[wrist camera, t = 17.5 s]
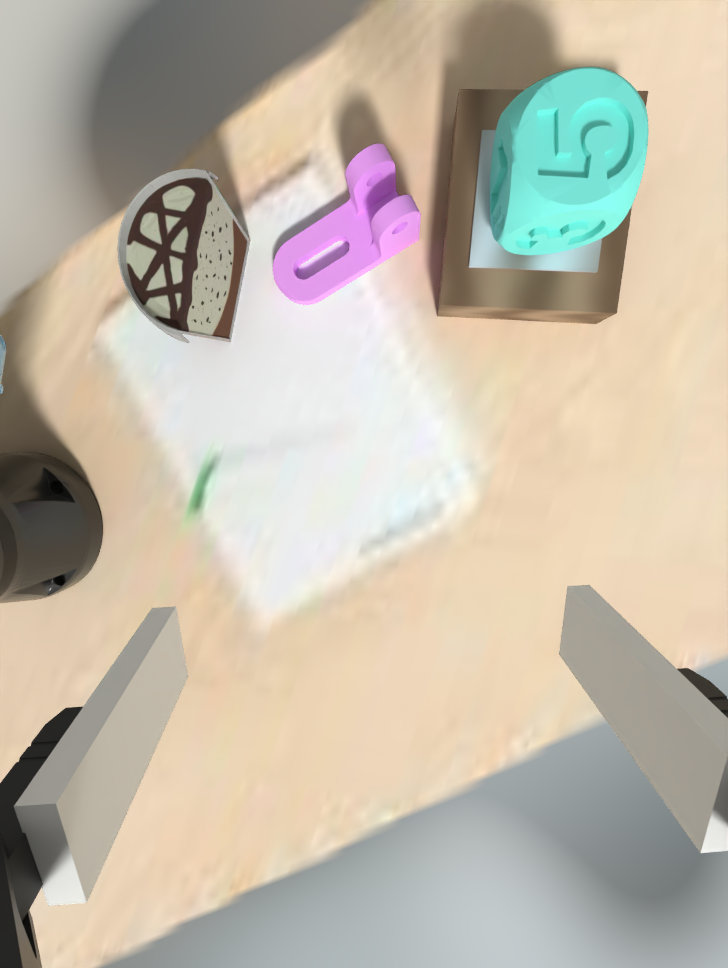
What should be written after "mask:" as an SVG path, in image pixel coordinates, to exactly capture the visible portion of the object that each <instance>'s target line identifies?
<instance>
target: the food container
mask: <svg viewBox="0 0 728 968" xmlns="http://www.w3.org/2000/svg"><path fill="white" fill-rule="evenodd" d="M212 179H216V180H218V177H217V176H216V175H214V174H213V173H212V172H210V171H206V170H201V169H180V170H176V171H172V172H169V173H166V174H164V175H161V176H159V177H157V178H156V179H154V180H153V181H151V182H150V183H148V184H147V185H146V186H145V187H144V188H143V189H142V190H141V191H140V192H139V193H138V194H137V195H136V197H135V198H134V199H133V200H132V202H131V204H130V205H129V207H128V209H127V211H126V213H125V215H124V218H123V221H122V223H121V228H120V232H119V238H118V262H119V266H120V271H121V275H122V278H123V281H124V283H125V286H126V288H127V290H128V292H129V294H130V296H131V298H132V300H133V301H134V303H135V304H136V305H137V307H138V308H139V310H140V311H141V312H142V313H143V314H144V315H145V316H146V317H147V318H148V319H149V320H150V321H151V322H152V323H154V324H155V325H156V326H157V327H158V328H160V329H161V330H162V331H164V332H165V333H166V334H168V335H170V336H172V337H174V338H176V339H178V340H180V341H183V342H186V343H189V341H188V340H187V339H186V338H185V337H184V336H182V334H188V335H194V336H200V337H205V338H211V339H217V340H223V341H228V342H231V338H232V333H233V327H234V322H235V317H236V312H237V307H238V302H239V296H240V291H241V286H242V281H243V276H244V271H245V266H246V260H247V255H248V250H249V245H250V239H249V237H248V236H247V234H246V233H245V231H244V230H243V228H242V226H241V225H240V223H239V222H238V220H237V218H236V217H235V215H234V214H233V212H232V210H231V209H230V207H229V206H228V204H227V202H226V201H225V199H224V198H223V196H222V195H221V193H220V191H219V190H218V188H217V187H216V185H215V183H214V182H213V180H212Z"/></svg>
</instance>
